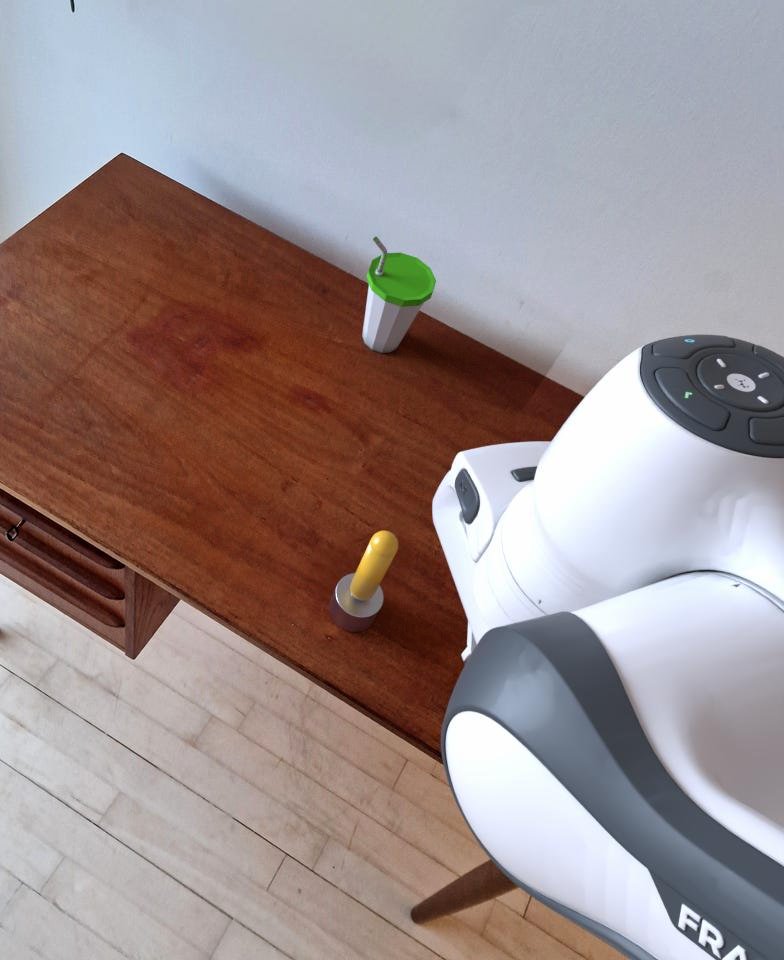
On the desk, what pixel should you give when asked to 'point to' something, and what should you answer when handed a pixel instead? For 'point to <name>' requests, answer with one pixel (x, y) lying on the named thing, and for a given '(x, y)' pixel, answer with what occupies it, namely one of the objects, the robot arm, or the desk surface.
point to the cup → (394, 297)
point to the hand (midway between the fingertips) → (478, 675)
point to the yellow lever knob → (363, 586)
